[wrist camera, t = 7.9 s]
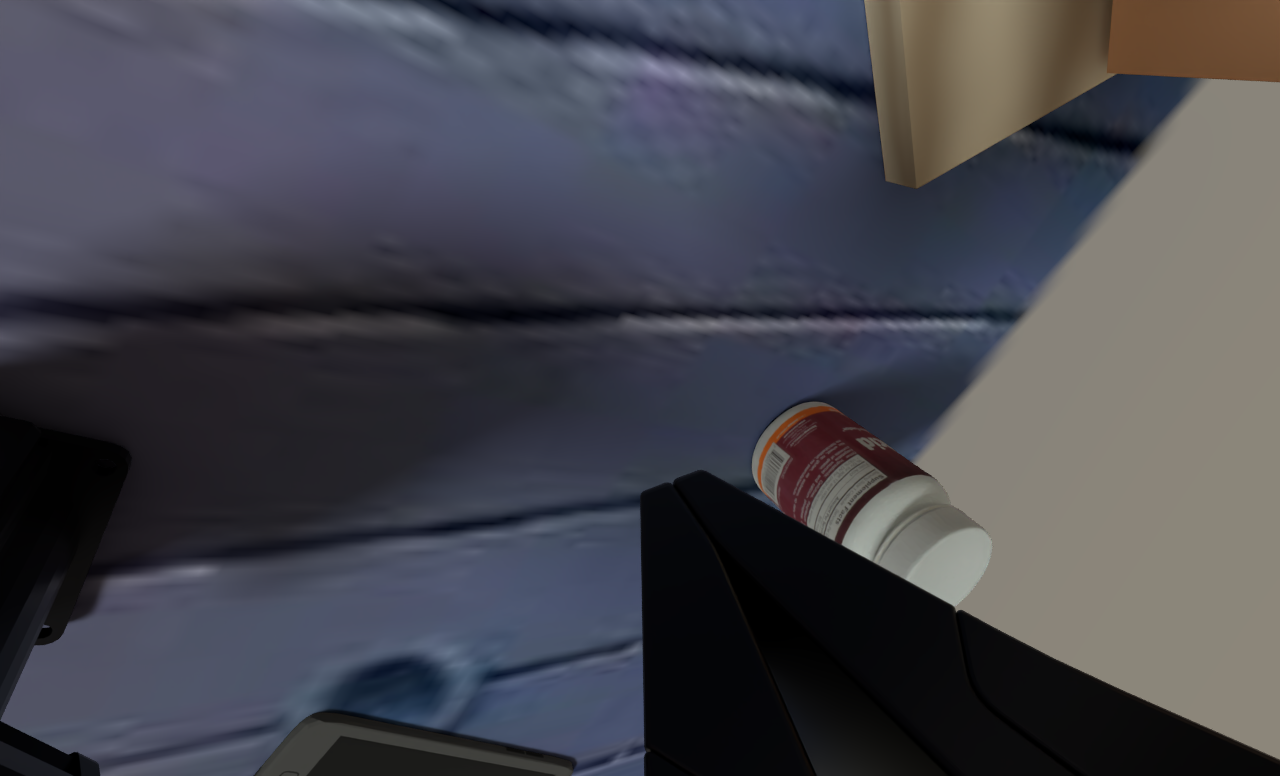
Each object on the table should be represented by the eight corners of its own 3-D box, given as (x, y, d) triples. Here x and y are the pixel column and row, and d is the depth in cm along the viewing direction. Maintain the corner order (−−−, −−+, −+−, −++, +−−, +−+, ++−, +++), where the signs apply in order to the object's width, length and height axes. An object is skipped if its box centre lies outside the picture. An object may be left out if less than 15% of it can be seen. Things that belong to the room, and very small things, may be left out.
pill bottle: (857, 431, 29) (1019, 550, 23) (784, 508, 30) (924, 648, 23) (806, 377, 26) (975, 496, 20) (728, 463, 27) (868, 608, 20)
